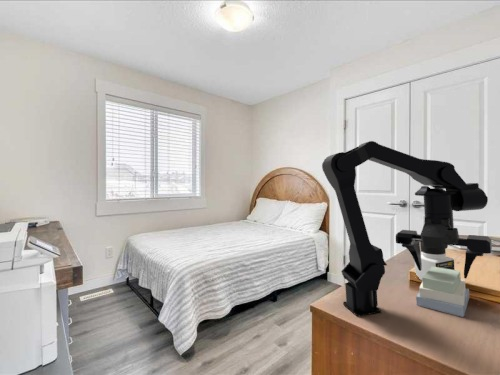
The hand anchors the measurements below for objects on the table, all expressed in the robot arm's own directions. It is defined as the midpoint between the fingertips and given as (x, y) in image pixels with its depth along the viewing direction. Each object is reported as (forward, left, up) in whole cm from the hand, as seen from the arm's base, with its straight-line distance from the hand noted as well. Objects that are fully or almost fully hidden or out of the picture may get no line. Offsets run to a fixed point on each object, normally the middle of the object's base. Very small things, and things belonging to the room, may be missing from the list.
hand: (441, 273), depth 63 cm
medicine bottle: (+9, +11, -7) cm, 16 cm away
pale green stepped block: (0, 0, -3) cm, 3 cm away
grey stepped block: (0, 0, -7) cm, 7 cm away
